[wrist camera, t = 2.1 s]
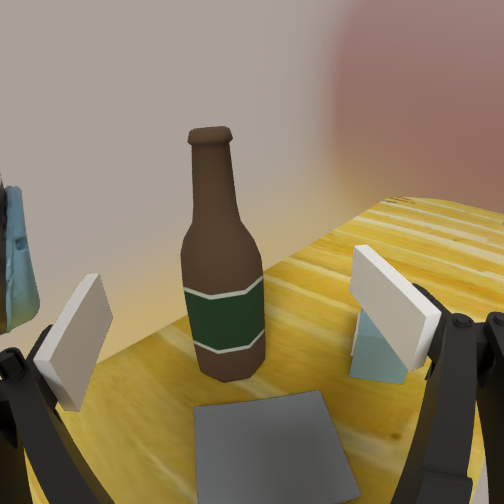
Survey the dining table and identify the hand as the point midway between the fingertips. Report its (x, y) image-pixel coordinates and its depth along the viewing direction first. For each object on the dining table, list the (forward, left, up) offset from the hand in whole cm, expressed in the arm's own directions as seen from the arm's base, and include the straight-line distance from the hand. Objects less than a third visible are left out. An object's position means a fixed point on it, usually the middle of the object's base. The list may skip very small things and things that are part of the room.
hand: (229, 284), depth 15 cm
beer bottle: (0, +12, -17) cm, 21 cm away
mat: (+2, -1, -17) cm, 17 cm away
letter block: (+16, +8, -17) cm, 24 cm away
